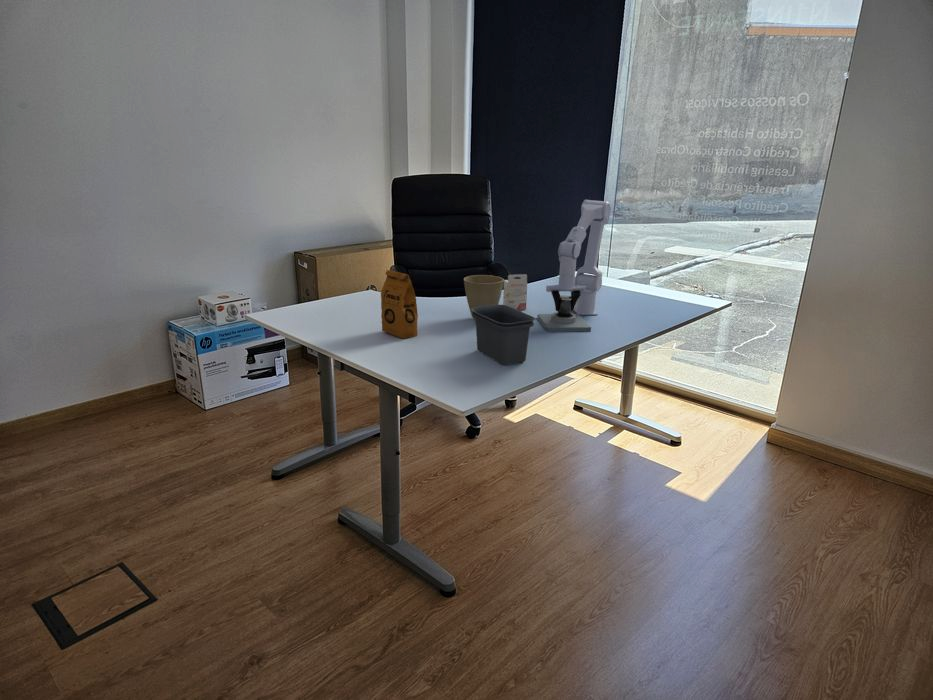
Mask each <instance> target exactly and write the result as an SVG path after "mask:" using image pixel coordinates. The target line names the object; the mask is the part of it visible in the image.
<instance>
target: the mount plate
mask: <svg viewBox="0 0 933 700" xmlns="http://www.w3.org/2000/svg"><path fill="white" fill-rule="evenodd" d="M557 313H558V311H556V312H553V313H537V319H538V320H539V321H541V322H540V323H541V325H542V326H543V327H544V329H545V328H546V329H545V330H546V331H547V332H548V331H553V332H591V331H592V327H591V326H590V324H589V323H588V322H587V321H586V320H584V318H583V317H582V315H579V314H577V313H572V312H571V316H570V317H560V316H558V315H557Z"/></svg>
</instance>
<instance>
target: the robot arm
mask: <svg viewBox="0 0 933 700" xmlns="http://www.w3.org/2000/svg"><path fill="white" fill-rule="evenodd" d="M580 208H581V209H580V211H581V212H580V213H581V216H580V218H579V220H578V223H577V226H574V227H572V228H571V230H570V231H569V233H568V235H567V237H566V239H565V240H563V241H562V242H560V244H559V246H558V250H557V253H558V261H559V276H558V284H553V285H546V286H545V287H546V288H545V291H546V292H547V293H550V292H551V295H552V298H553V302H554V306H555V308H554V309H555V311H556V312H558V311H559V299H560V296H561V293H560V292H570V296H571V297H572V308H571V312H575V314H579V315H580V316H585V315H586V316H591V315H592V316H596V315H598V312H597V311H595V310H596V309H595V307H596V301H597V300H596V298H597V293H598V292H599V291H600V290H601V288H602V284H603V272H602V271H601V270H600V269H599V268H598V267H597V266H598V260H599V255H600V251H601V250H600V248H601V245H602V244H601V243H602V238H603V232H604V228H605V225H607V224H608V223H609V220H610V214H611V211H612V210H611V209H612V208H611V203H610V201H608V200H606V201H605V200H604V201H602V200H593V199H592V200H591V199H584V200H583V202H582V203H581V207H580ZM589 226H590V229H589V235H588V241H587V246H586V253H585V257H584V258H585V259H584V264H583V266H581V267H580V268H578V269H577V268H576V267H577V258H578V257H579V256H580V253H581V249H582V243H583V242H584V240H585V238H586V237H587V231H586V230H587V229H588V228H589ZM576 269H577V271H576Z"/></svg>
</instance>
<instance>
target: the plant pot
mask: <svg viewBox="0 0 933 700" xmlns="http://www.w3.org/2000/svg"><path fill="white" fill-rule="evenodd" d="M504 280H505V279H504V278H502V277H500V276H496V275H490V274H489V275H487V274H475V275H468V276H466V277H464V278H463V285H464V289H465V290H464V291H465V296H466V301H467V304H468V305H467V306H468V309H469V311H470V314H471V318H472V320H473V321H474V322H476V318H475V317H473V316H472V313H473V311H472V310H471V308H473V307H480V306H488V305H500V302H501V301H500V299H501V296H502V292H503V288H504Z"/></svg>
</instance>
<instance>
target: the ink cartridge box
mask: <svg viewBox="0 0 933 700" xmlns="http://www.w3.org/2000/svg"><path fill="white" fill-rule="evenodd" d="M527 292H528V275H527V273H526V274H525V273H524V274H522V273H520V274H508V275H507V279H504V282H503V297H502V299H503V300H502V303H503V304H502V305H506V306H509V307H511V308H514V309H516V310H519V311H523V310H525V311H526V310H527V300H528V299H527V298H528V296H527Z"/></svg>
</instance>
